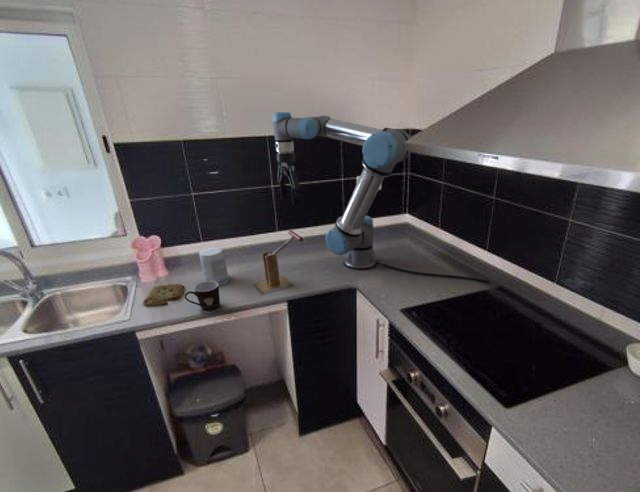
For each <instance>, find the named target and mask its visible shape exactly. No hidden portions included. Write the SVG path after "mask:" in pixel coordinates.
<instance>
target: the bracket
mask: <svg viewBox="0 0 640 492" xmlns="http://www.w3.org/2000/svg"><path fill="white" fill-rule="evenodd" d="M273 252H274V251H273V250H269V251H264V252H261V256H262V263H263V270H264V277H265V278H264V279H263V280H259V281H255V282H254V284H255V286H256V287H257V288H258V289H259V290H260V291H261V292H266V291H267V292H268V291H270V290H271V291H272V290H275V289H279V288H283V287H286V286H291V285H293V283H292V282H291V281H289V280H288V279H287V278H286V277H285V276H284V275H280V273H279V272H280V271H279V264H278V263H279V262H278V253H277V254H272V253H273ZM269 253H271V254H272V255H267V254H269ZM266 255H267V256H266ZM265 256H266V258H265Z"/></svg>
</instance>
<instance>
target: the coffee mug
mask: <svg viewBox="0 0 640 492" xmlns="http://www.w3.org/2000/svg"><path fill="white" fill-rule="evenodd" d="M193 290H194V291H187V292H186V293H185V294H184V299H185V300H186V301H187V302H189V303H191V304H194V305H196V306H199V307H200V308H201V310H202V311H203V312H213V311H216V310H218V309H219V308H220V307H221V301H220V287H219V284H218V283H217V282H215V281H206V280H205V281H202V282H199V283H197V284H196V285H194V286H193ZM190 294H192V295H194V296H195V297H196V298H197V301H198V302H196V301H193V300H190V299H188V298H187V296H188V295H190Z"/></svg>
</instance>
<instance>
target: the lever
mask: <svg viewBox="0 0 640 492" xmlns="http://www.w3.org/2000/svg"><path fill="white" fill-rule="evenodd" d="M287 233H288V234H289V235H290V238H288V239H287V240H286V241H285V242H283V243H282V244H281V245H280V246H279V247H278V248H277V249H275V250H274V251H273V253H272V254H277V255H278V253H280V252H281V251H282V250H283V249H284V248H286V247H287V246H288V245H289V244H290V243H292V241H294V240H296V241H298V242H301V243H302V242H303V241H304V238H303V237H302V236H300V235H299V234H298V233H296V232H295V231H294V230H292V229H289V230H288V232H287ZM272 254H271V253H269V254H267V255H272ZM267 255H266V256H267ZM266 256H265V258H266Z"/></svg>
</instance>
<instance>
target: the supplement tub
mask: <svg viewBox="0 0 640 492" xmlns="http://www.w3.org/2000/svg"><path fill="white" fill-rule="evenodd" d="M198 255H199V260H200V264H201V268H202V272H203V275H204V280H205V282H206V281H215V282H217V283H218V284H219V285H220V286H221V285H223V284H226V283H227V282H229V280H230V277H229V273H228V268H227V263H226V259H225V254H224V251H223V248H221V247H208V248H205V249H201V250H200V251H199V254H198Z"/></svg>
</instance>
